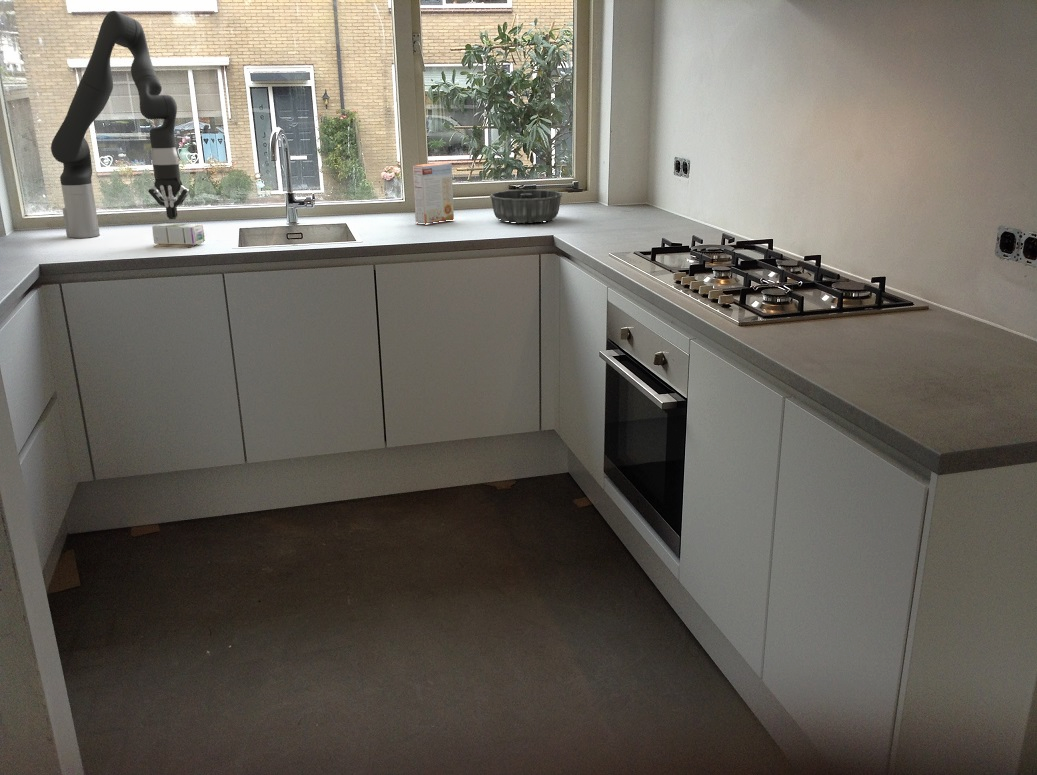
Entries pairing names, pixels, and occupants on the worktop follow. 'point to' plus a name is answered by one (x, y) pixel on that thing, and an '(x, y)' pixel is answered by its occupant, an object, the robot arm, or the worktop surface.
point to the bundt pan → (526, 205)
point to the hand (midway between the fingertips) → (172, 219)
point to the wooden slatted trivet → (173, 245)
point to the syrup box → (178, 234)
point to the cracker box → (433, 192)
